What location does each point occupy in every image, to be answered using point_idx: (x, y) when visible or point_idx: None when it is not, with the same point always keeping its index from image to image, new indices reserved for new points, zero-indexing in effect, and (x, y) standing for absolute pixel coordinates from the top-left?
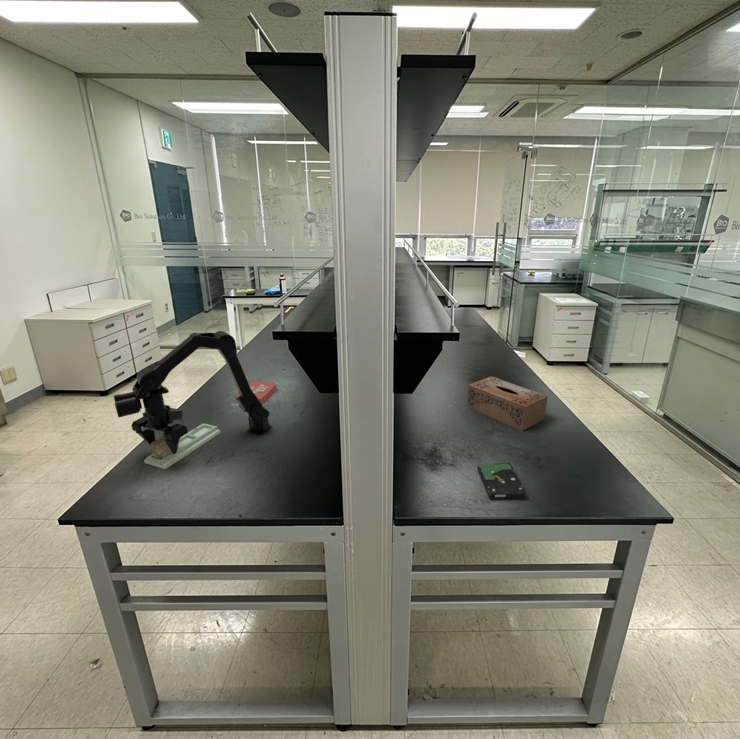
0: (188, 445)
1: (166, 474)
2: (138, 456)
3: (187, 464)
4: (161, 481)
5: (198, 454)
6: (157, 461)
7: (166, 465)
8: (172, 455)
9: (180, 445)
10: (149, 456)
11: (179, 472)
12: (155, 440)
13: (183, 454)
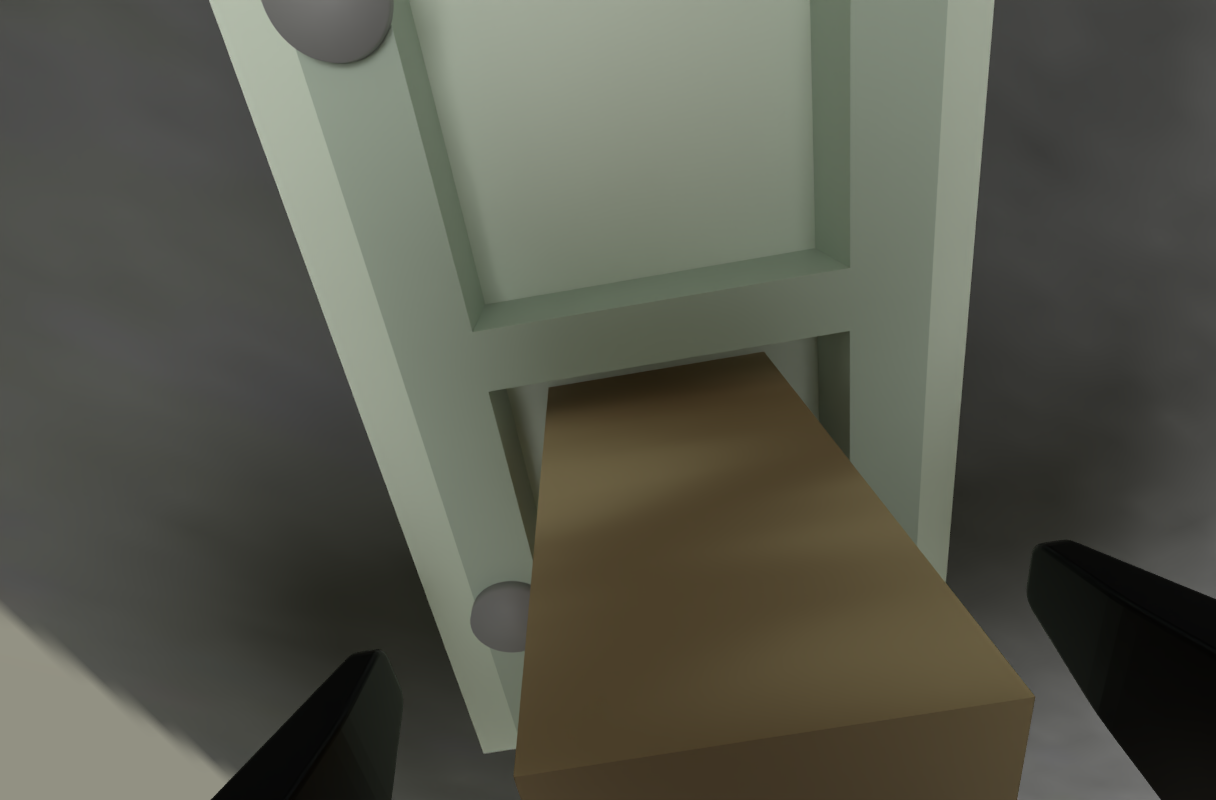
0: (933, 31)
1: (1019, 676)
2: (197, 671)
3: (1165, 395)
4: (1067, 760)
5: (1172, 32)
6: None
7: None
8: (912, 539)
9: (578, 95)
10: None
11: (1174, 572)
12: (294, 792)
13: (961, 302)
